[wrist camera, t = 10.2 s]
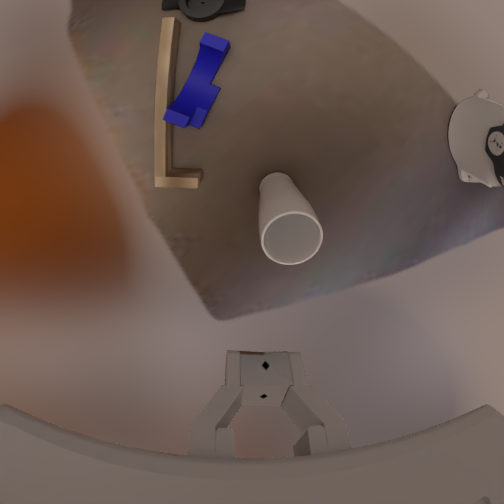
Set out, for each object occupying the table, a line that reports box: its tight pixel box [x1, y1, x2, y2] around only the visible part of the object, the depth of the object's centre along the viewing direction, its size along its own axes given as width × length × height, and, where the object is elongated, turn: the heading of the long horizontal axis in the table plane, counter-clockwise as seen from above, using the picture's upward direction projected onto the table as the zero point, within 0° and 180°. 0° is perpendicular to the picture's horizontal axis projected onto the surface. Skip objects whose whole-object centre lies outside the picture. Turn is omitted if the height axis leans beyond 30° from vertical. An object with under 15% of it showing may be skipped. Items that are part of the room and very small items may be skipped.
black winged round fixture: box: [162, 0, 245, 22], centre depth 25 cm, size 8×10×3 cm
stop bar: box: [154, 17, 202, 189], centre depth 32 cm, size 6×24×4 cm, turn 174°
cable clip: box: [163, 32, 231, 129], centre depth 30 cm, size 12×4×6 cm, turn 153°
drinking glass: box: [258, 172, 323, 265], centre depth 35 cm, size 7×7×15 cm
